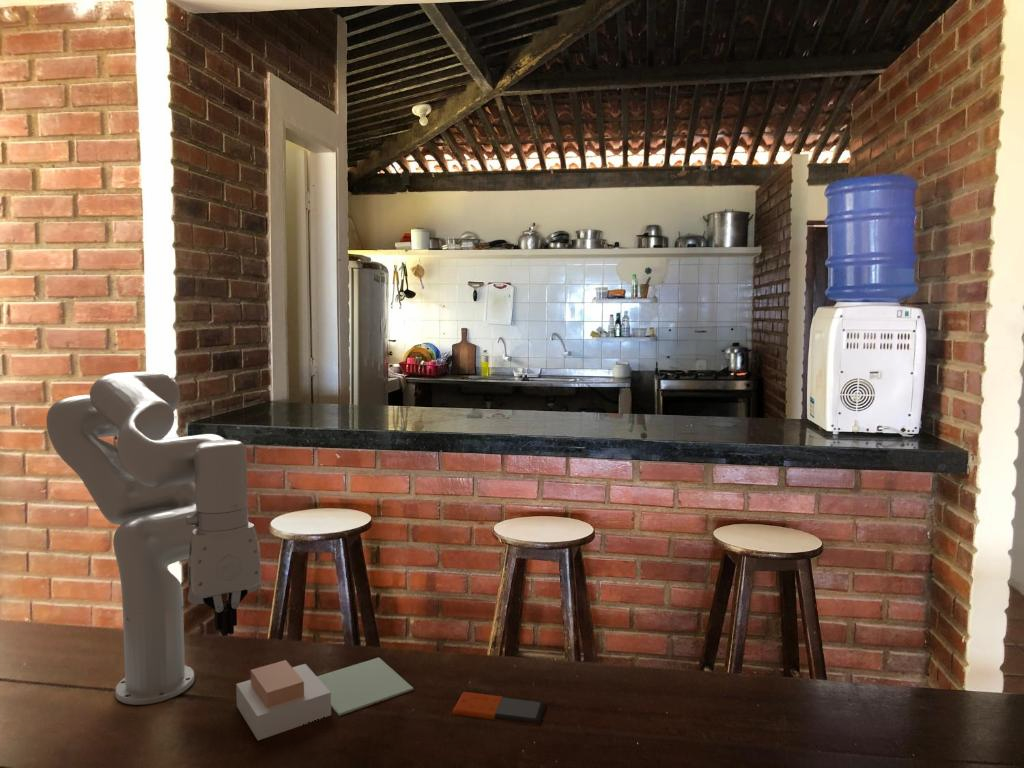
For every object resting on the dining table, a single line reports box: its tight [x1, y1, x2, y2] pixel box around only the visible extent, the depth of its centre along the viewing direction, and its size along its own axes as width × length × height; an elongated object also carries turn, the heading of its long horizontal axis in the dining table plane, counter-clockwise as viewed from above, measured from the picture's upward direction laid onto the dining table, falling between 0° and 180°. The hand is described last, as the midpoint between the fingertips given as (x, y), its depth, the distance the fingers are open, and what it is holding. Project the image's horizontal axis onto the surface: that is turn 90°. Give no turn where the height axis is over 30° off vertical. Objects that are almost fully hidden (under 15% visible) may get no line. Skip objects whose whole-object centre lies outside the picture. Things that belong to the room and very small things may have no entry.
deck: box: [235, 663, 332, 741], centre depth 115 cm, size 12×12×4 cm
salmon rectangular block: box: [250, 659, 304, 708], centre depth 114 cm, size 9×6×2 cm, turn 37°
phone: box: [452, 691, 546, 726], centre depth 116 cm, size 6×1×15 cm
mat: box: [316, 657, 414, 717], centre depth 123 cm, size 14×14×1 cm
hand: (226, 631), depth 108 cm, fingers closed
